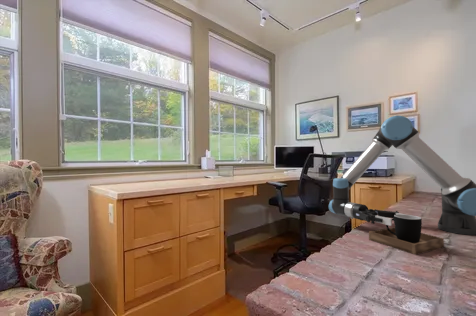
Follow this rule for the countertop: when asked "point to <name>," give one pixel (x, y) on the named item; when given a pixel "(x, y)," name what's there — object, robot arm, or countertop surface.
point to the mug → (407, 227)
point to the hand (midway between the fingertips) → (402, 220)
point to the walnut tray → (391, 240)
